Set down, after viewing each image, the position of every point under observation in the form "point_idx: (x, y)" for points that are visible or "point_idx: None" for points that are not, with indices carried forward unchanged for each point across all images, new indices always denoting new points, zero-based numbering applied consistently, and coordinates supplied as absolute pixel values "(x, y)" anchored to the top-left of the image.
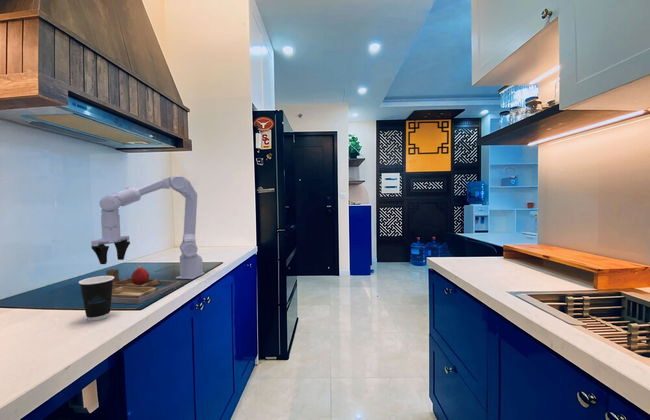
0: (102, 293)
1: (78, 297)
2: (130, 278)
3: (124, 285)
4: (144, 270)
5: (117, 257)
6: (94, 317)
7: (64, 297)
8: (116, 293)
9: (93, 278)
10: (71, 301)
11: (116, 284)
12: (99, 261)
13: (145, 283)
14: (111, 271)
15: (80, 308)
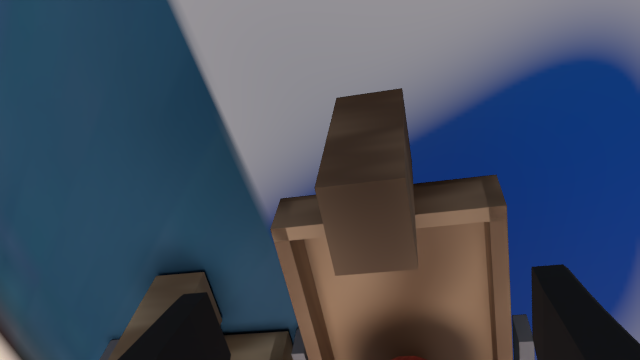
0: None
1: (78, 132)
2: (500, 240)
3: (307, 355)
4: None
5: (543, 289)
6: None
7: (9, 11)
8: None
9: None
10: (18, 178)
11: (297, 290)
12: (157, 322)
13: (491, 344)
14: (331, 252)
15: (18, 341)
